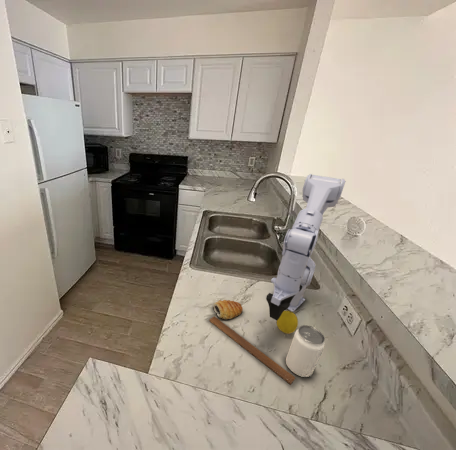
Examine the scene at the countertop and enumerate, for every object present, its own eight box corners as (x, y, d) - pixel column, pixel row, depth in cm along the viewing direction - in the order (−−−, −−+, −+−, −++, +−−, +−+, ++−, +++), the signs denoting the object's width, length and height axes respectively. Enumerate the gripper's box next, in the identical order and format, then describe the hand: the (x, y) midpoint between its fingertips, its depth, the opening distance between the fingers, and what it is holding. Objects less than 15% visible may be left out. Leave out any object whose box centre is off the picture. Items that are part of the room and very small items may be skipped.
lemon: (296, 340, 75) (303, 320, 71) (276, 337, 76) (282, 317, 72) (291, 326, 79) (297, 306, 76) (272, 323, 80) (278, 304, 77)
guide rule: (214, 317, 82) (214, 316, 82) (294, 379, 64) (295, 377, 64) (209, 320, 81) (209, 319, 81) (290, 384, 63) (291, 383, 63)
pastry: (235, 302, 89) (237, 294, 87) (246, 316, 83) (248, 308, 81) (211, 307, 86) (212, 298, 85) (220, 322, 81) (222, 313, 79)
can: (280, 356, 70) (291, 324, 65) (302, 354, 70) (315, 323, 65) (294, 379, 64) (307, 346, 59) (318, 377, 65) (333, 344, 59)
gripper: (285, 255, 73) (275, 292, 79) (264, 277, 64) (254, 316, 70) (312, 265, 69) (299, 303, 75) (293, 290, 60) (280, 331, 66)
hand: (279, 310), depth 72 cm, fingers open, 7 cm apart
